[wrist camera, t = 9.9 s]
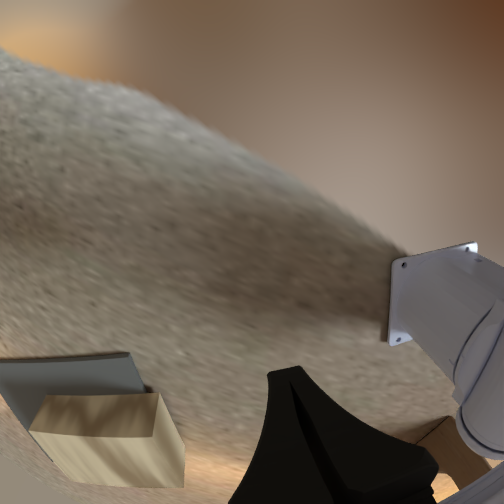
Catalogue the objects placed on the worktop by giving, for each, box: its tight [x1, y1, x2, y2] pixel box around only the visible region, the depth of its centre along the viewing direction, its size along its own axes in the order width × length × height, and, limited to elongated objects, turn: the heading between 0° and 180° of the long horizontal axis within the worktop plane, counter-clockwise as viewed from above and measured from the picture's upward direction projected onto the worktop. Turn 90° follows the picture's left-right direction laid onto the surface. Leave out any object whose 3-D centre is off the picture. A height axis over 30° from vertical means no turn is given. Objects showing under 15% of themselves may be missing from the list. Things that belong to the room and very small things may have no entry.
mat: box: [0, 353, 147, 462], centre depth 24 cm, size 18×16×1 cm
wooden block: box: [415, 416, 492, 490], centre depth 24 cm, size 9×4×18 cm, turn 136°
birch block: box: [28, 392, 185, 488], centre depth 22 cm, size 5×8×12 cm
